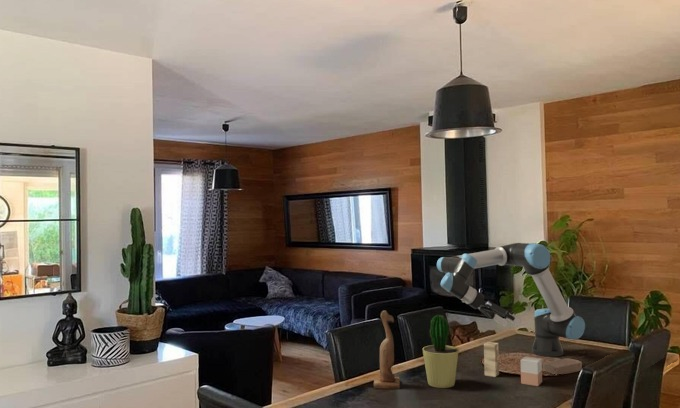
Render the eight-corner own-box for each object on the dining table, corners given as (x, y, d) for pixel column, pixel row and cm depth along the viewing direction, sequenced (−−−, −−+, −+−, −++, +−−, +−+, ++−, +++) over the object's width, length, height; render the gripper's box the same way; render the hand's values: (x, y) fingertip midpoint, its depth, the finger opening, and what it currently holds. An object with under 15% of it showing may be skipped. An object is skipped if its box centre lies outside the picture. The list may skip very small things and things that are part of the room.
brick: (556, 376, 230) (555, 365, 230) (541, 371, 238) (541, 361, 238) (582, 371, 237) (582, 361, 237) (568, 367, 245) (568, 357, 245)
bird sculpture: (401, 390, 215) (402, 313, 217) (373, 389, 216) (374, 312, 217) (399, 382, 226) (399, 308, 228) (372, 381, 227) (373, 308, 228)
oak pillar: (488, 372, 237) (487, 341, 237) (499, 374, 234) (498, 343, 234) (484, 375, 233) (483, 344, 233) (495, 377, 230) (494, 345, 230)
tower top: (525, 367, 226) (525, 356, 226) (541, 370, 222) (541, 358, 222) (520, 371, 221) (520, 360, 221) (537, 374, 217) (537, 362, 217)
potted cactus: (452, 391, 211) (450, 318, 212) (417, 385, 219) (416, 315, 220) (464, 381, 224) (462, 312, 225) (431, 376, 232) (429, 309, 233)
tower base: (525, 379, 226) (525, 367, 226) (542, 382, 222) (541, 370, 222) (521, 383, 220) (520, 371, 221) (538, 386, 216) (537, 374, 217)
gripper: (459, 306, 242) (497, 331, 241) (479, 303, 218) (521, 331, 217) (466, 292, 244) (505, 317, 243) (487, 288, 220) (529, 315, 219)
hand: (512, 324), depth 230 cm, fingers open, 13 cm apart
